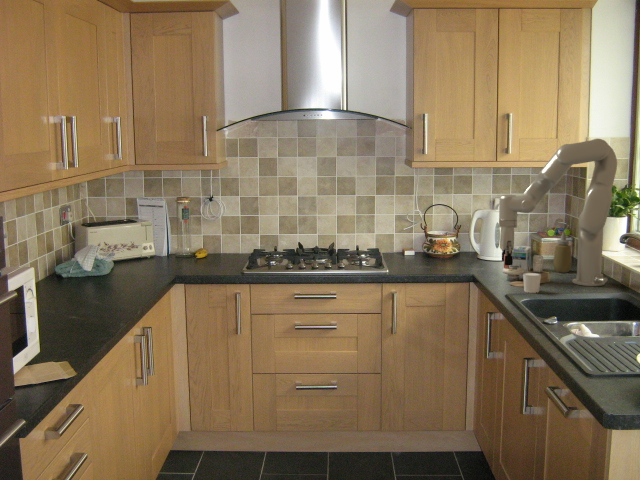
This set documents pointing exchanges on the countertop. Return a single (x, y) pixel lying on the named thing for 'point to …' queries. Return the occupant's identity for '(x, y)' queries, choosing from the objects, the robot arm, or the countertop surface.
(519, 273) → the crank wheel
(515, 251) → the light bulb box
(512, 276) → the wheel post
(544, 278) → the block
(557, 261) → the squeeze bottle
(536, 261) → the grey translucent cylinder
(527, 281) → the white cup
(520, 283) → the coaster
